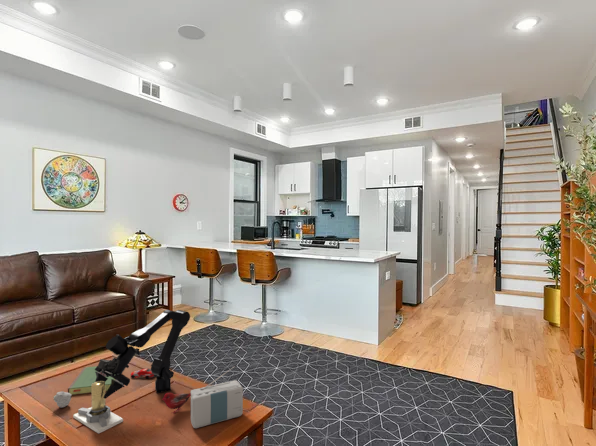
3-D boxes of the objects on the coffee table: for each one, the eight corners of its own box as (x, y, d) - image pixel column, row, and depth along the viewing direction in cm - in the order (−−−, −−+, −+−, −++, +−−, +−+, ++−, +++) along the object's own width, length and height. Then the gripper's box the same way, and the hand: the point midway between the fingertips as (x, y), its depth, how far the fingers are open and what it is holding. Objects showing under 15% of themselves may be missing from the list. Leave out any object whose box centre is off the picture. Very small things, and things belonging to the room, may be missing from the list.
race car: (128, 378, 186) (128, 371, 186) (134, 374, 192) (134, 366, 192) (152, 380, 185) (152, 372, 185) (157, 375, 190) (157, 367, 190)
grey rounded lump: (51, 407, 157) (51, 392, 157) (69, 401, 163) (69, 386, 163) (55, 412, 153) (55, 396, 153) (73, 406, 159) (73, 390, 159)
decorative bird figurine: (160, 417, 151) (159, 393, 150) (196, 401, 164) (196, 379, 164) (163, 419, 149) (163, 396, 148) (199, 403, 162) (199, 381, 162)
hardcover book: (84, 374, 192) (84, 367, 192) (122, 370, 197) (122, 363, 197) (67, 397, 168) (67, 389, 168) (111, 392, 173) (111, 384, 172)
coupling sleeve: (108, 413, 151) (108, 380, 151) (101, 420, 146) (101, 386, 146) (95, 413, 151) (95, 380, 151) (88, 420, 146) (88, 386, 145)
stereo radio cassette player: (193, 431, 141) (193, 381, 140) (189, 421, 148) (189, 373, 148) (243, 417, 151) (243, 371, 150) (237, 408, 158) (237, 364, 158)
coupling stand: (97, 407, 158) (97, 398, 158) (123, 421, 147) (122, 412, 147) (73, 417, 150) (73, 408, 150) (98, 433, 139) (98, 424, 139)
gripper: (98, 346, 157) (72, 381, 148) (122, 355, 147) (96, 393, 138) (116, 358, 164) (92, 391, 155) (140, 367, 154) (116, 404, 145)
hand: (98, 394), depth 148 cm, fingers open, 9 cm apart
